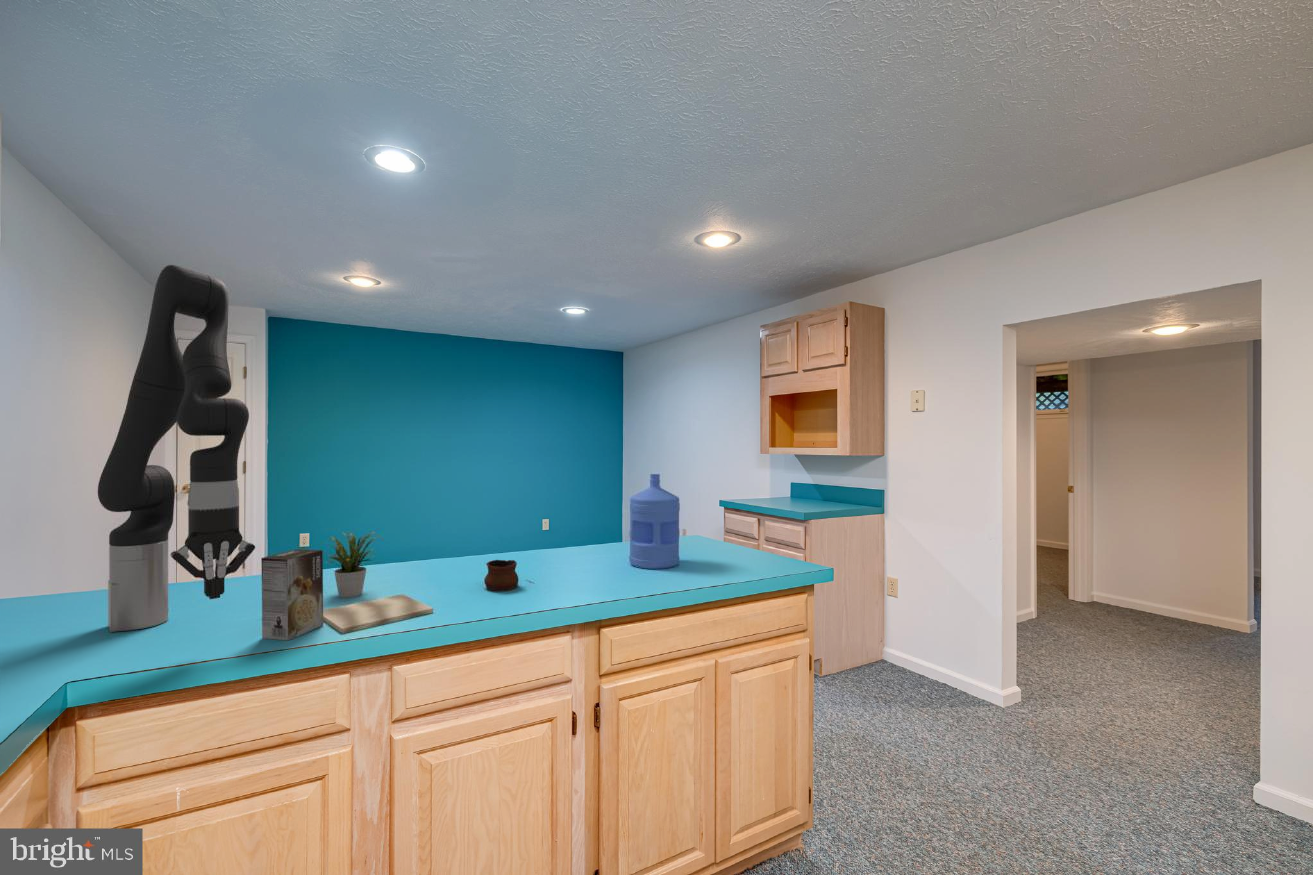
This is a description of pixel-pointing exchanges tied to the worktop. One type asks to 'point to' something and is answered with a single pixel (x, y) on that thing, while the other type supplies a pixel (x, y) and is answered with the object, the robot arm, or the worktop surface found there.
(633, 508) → the water jug
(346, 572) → the house plant
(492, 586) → the ceramic pot
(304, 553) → the coffee box
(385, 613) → the cutting board
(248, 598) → the worktop surface
